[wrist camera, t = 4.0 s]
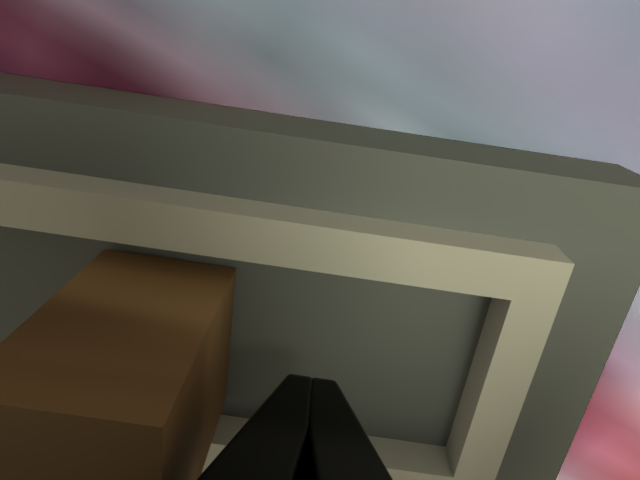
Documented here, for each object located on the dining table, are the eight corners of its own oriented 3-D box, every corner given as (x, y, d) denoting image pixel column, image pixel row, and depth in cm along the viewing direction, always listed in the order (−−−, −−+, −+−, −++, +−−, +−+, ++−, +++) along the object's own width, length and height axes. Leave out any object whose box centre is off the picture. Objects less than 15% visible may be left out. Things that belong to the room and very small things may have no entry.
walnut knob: (225, 399, 10) (158, 605, 7) (108, 382, 10) (-26, 579, 7) (236, 268, 9) (163, 427, 5) (104, 248, 9) (-59, 396, 5)
